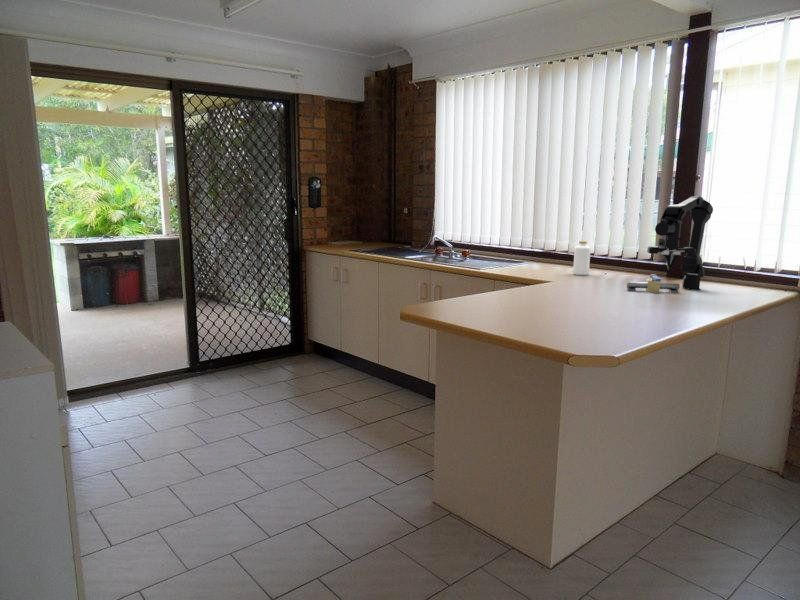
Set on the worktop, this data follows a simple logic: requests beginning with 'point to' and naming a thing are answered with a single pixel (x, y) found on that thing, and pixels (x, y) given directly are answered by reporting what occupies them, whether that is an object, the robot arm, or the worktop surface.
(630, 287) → the pipe run
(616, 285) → the worktop surface
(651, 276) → the valve lever
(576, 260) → the potion bottle
